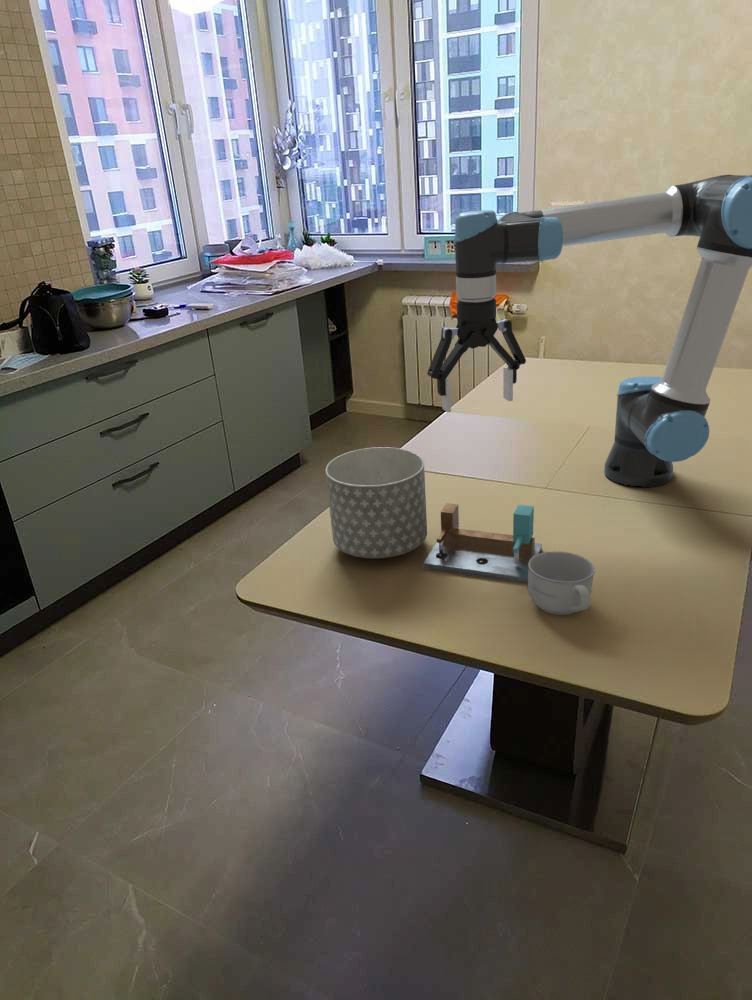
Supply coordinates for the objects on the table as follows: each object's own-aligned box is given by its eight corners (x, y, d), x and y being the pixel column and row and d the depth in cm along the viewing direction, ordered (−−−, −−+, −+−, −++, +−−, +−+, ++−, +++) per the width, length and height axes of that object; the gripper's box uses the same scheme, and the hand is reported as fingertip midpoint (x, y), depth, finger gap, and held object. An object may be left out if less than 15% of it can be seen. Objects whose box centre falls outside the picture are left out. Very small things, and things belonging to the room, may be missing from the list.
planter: (338, 527, 155) (330, 449, 147) (426, 523, 154) (422, 444, 146) (330, 574, 138) (320, 488, 130) (429, 569, 137) (425, 483, 129)
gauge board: (541, 549, 141) (543, 509, 137) (528, 583, 130) (529, 542, 127) (443, 536, 148) (442, 499, 145) (423, 568, 138) (421, 528, 134)
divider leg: (532, 543, 140) (533, 506, 136) (522, 568, 132) (523, 529, 128) (517, 541, 141) (518, 504, 137) (506, 565, 133) (507, 527, 129)
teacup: (520, 591, 128) (520, 552, 125) (579, 584, 129) (582, 545, 125) (542, 637, 116) (544, 595, 112) (608, 630, 116) (612, 588, 113)
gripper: (525, 287, 143) (524, 390, 153) (408, 303, 137) (413, 409, 147) (544, 292, 137) (541, 399, 146) (421, 309, 131) (426, 420, 140)
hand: (477, 404), depth 146 cm, fingers open, 13 cm apart
